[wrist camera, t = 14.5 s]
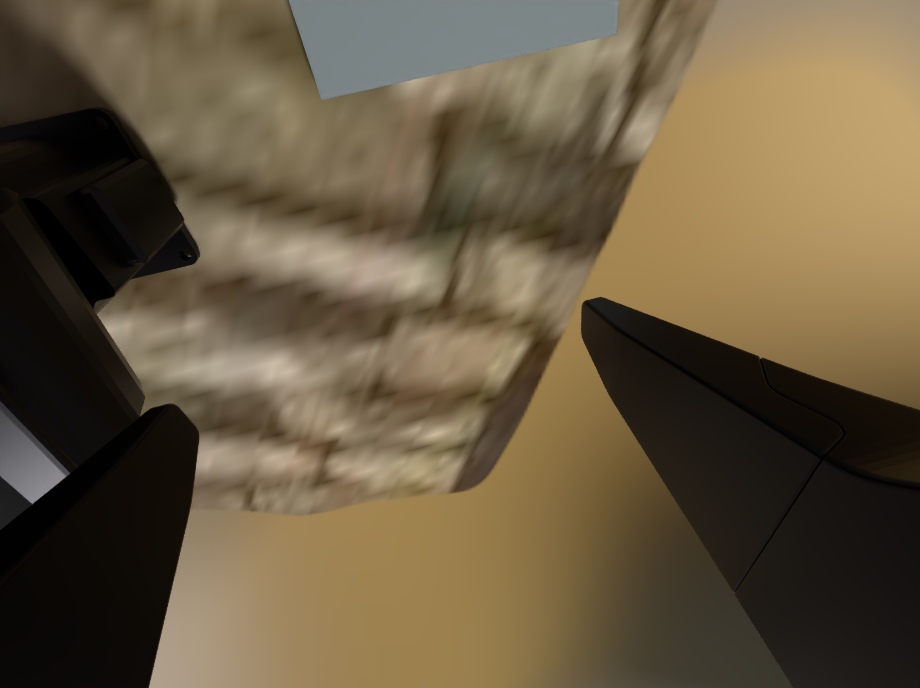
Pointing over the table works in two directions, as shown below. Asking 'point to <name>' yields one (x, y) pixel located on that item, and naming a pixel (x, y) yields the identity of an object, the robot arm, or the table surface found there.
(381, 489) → the table surface
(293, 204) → the table surface
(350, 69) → the slate board
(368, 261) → the table surface
